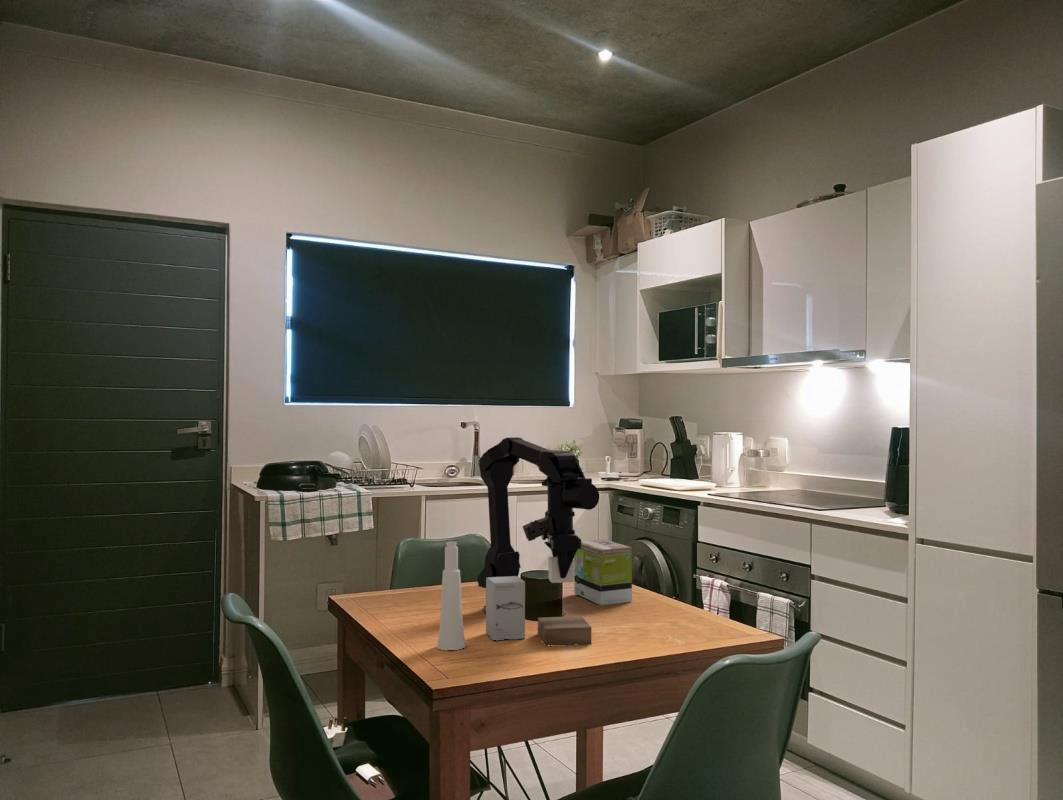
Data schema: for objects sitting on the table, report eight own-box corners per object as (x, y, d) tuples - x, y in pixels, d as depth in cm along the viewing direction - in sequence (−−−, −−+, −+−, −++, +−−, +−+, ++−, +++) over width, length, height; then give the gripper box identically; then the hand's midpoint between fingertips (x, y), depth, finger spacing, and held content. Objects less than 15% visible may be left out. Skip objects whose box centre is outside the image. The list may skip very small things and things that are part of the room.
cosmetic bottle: (471, 647, 172) (471, 542, 173) (448, 653, 168) (448, 545, 169) (453, 641, 177) (454, 539, 177) (431, 647, 172) (431, 542, 173)
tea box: (572, 594, 224) (572, 540, 225) (604, 591, 228) (604, 538, 229) (600, 606, 211) (599, 548, 211) (633, 602, 215) (633, 545, 215)
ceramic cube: (548, 578, 188) (548, 557, 188) (570, 578, 188) (569, 556, 189) (551, 582, 183) (551, 560, 183) (573, 582, 183) (573, 559, 184)
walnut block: (537, 635, 183) (537, 617, 183) (581, 634, 184) (581, 616, 185) (545, 647, 173) (545, 628, 173) (591, 646, 175) (591, 627, 175)
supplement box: (492, 641, 177) (492, 583, 177) (485, 633, 184) (485, 576, 184) (525, 639, 179) (525, 581, 179) (517, 631, 186) (517, 575, 186)
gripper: (520, 503, 194) (520, 570, 194) (530, 511, 176) (531, 584, 175) (566, 502, 196) (567, 568, 195) (581, 510, 177) (582, 583, 177)
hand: (561, 575), depth 186 cm, fingers closed on ceramic cube, 5 cm apart
